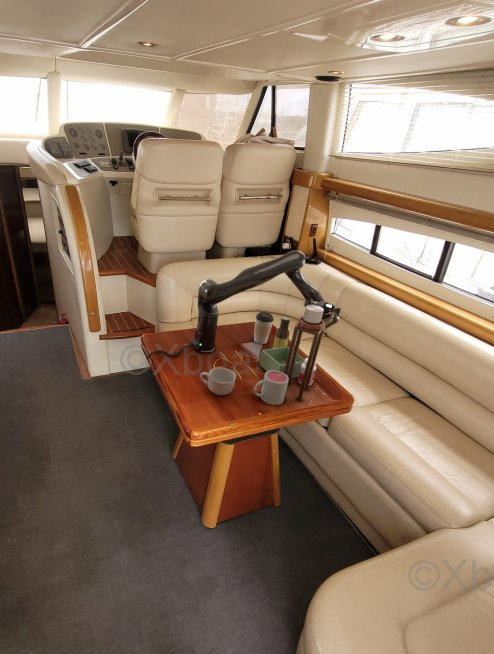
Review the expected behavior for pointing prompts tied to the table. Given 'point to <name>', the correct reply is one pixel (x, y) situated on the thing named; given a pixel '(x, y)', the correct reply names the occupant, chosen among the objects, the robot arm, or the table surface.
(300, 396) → the stand
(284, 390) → the mug
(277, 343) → the sauce bottle
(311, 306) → the small saucepan
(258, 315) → the coffee cup
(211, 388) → the teacup
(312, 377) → the pill bottle
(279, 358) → the bin
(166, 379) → the table surface
